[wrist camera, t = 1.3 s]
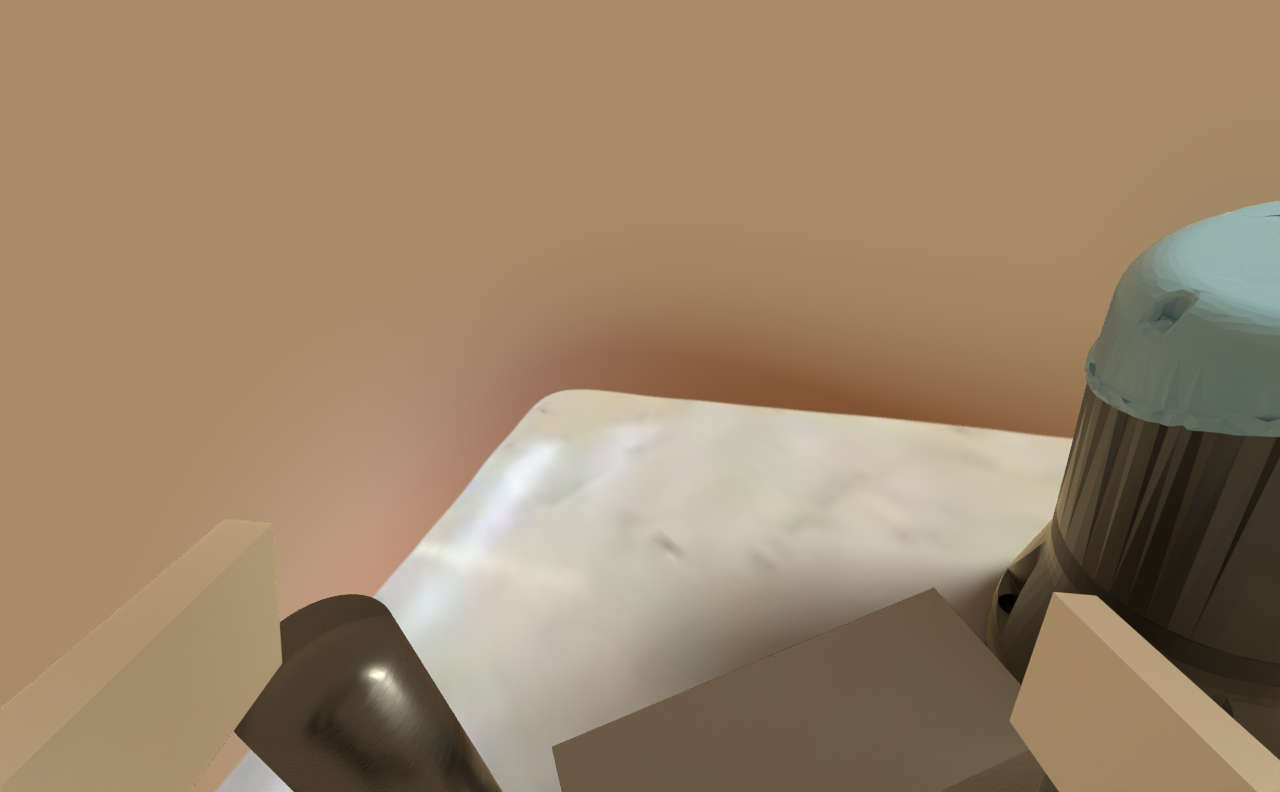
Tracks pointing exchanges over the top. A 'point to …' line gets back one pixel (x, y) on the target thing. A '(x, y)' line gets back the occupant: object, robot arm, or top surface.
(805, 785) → the box on wooden plank
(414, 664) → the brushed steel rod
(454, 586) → the top surface
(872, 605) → the top surface
